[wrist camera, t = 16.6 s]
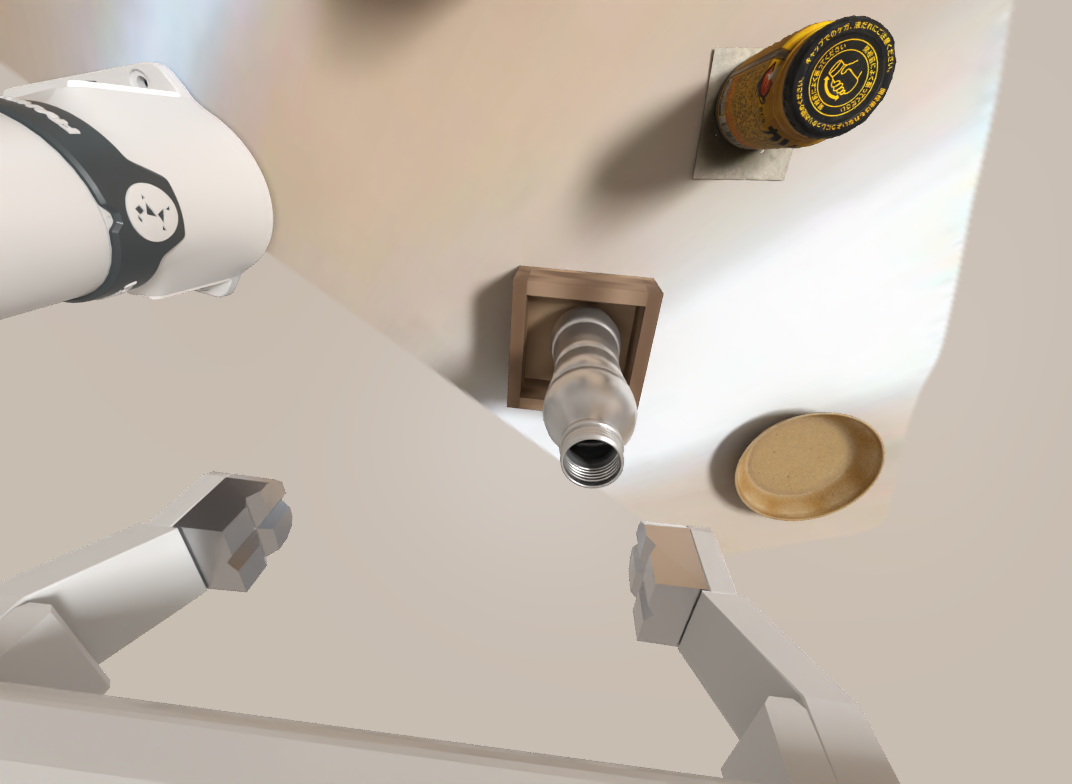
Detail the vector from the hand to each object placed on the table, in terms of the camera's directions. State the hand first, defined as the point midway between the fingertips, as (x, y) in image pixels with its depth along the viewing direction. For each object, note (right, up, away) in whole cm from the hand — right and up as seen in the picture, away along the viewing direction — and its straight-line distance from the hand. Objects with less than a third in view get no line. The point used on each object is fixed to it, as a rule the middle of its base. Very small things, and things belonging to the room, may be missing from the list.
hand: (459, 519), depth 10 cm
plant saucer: (+31, -4, +38) cm, 49 cm away
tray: (+6, +9, +33) cm, 34 cm away
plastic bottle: (+7, +9, +32) cm, 34 cm away
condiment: (+18, +24, +23) cm, 38 cm away
